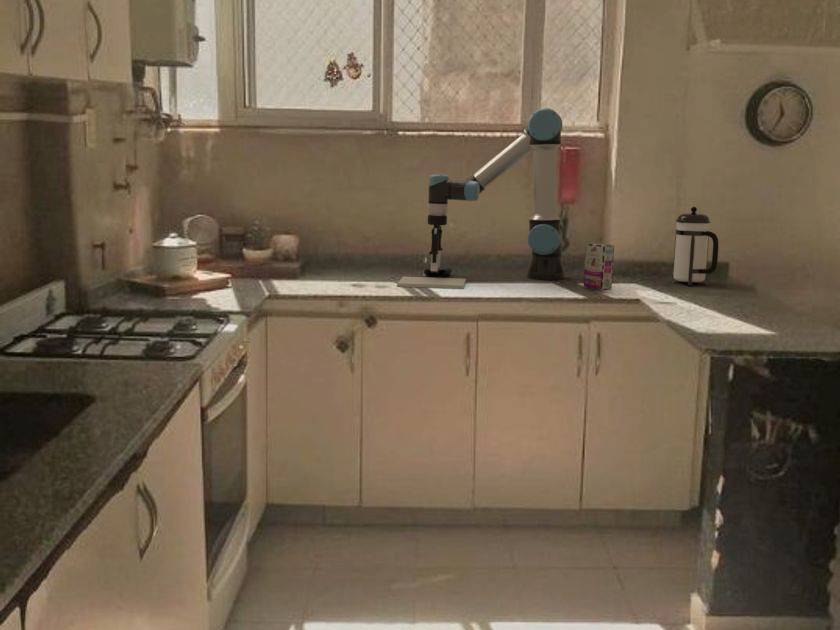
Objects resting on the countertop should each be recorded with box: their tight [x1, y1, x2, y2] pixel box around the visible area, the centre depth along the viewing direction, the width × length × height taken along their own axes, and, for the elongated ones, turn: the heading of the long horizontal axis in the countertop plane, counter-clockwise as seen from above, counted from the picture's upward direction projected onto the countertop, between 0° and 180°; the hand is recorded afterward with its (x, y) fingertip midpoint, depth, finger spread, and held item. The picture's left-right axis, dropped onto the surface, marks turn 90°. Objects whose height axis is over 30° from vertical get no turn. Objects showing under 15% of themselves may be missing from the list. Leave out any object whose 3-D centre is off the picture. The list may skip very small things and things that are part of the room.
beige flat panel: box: [396, 276, 467, 290], centre depth 339 cm, size 24×20×1 cm
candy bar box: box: [582, 242, 615, 291], centre depth 337 cm, size 11×5×16 cm, turn 27°
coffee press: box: [668, 206, 719, 287], centre depth 353 cm, size 17×16×30 cm
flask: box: [423, 267, 453, 277], centre depth 363 cm, size 9×3×11 cm
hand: (435, 269), depth 359 cm, fingers open, 13 cm apart
